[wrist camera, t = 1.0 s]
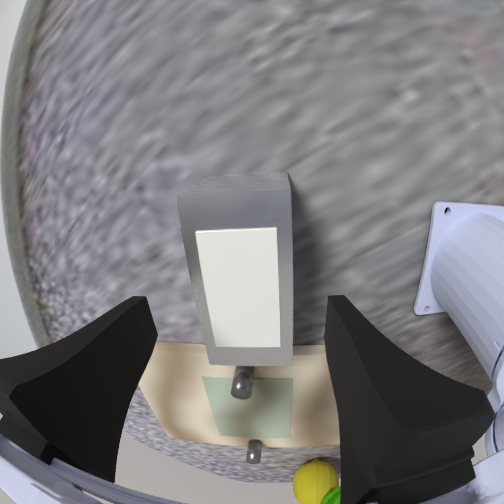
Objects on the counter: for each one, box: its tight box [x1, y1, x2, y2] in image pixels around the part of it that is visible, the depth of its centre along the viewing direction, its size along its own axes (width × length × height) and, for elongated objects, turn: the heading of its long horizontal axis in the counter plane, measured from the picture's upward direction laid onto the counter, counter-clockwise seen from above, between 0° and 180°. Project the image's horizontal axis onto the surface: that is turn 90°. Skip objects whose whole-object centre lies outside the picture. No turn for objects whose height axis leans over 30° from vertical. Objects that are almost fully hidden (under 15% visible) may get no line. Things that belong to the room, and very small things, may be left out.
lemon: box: [293, 459, 341, 504], centre depth 23 cm, size 7×6×10 cm
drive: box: [177, 171, 293, 366], centre depth 14 cm, size 4×9×5 cm, turn 4°
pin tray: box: [139, 341, 340, 464], centre depth 21 cm, size 20×15×4 cm
